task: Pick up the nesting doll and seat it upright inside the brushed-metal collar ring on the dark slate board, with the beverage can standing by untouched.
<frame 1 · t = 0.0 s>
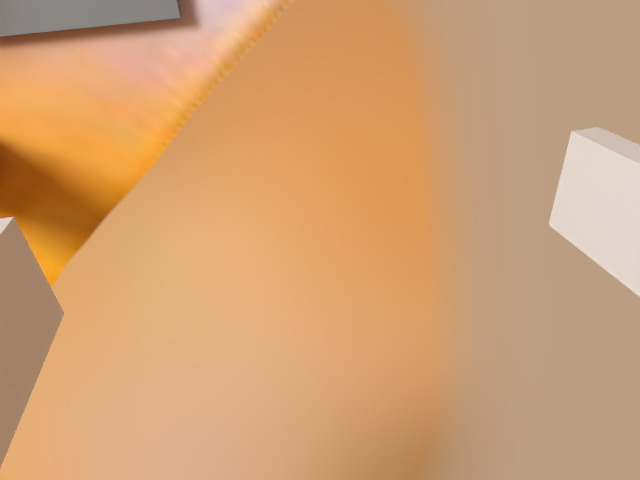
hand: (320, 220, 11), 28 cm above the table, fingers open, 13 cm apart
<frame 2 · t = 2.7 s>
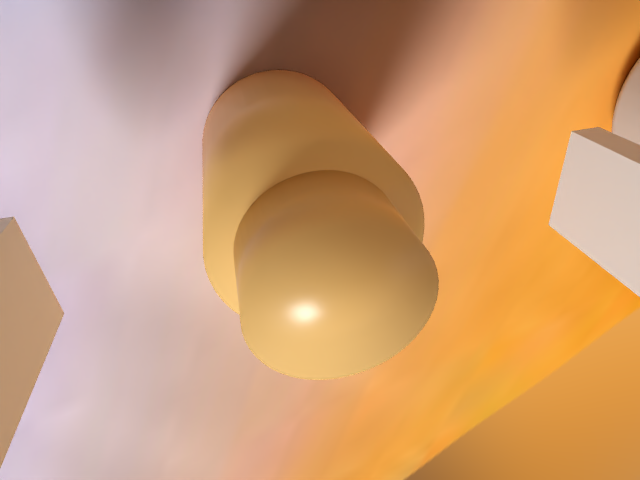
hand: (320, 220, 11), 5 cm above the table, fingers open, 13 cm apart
nesting doll: (278, 147, 14), on the table
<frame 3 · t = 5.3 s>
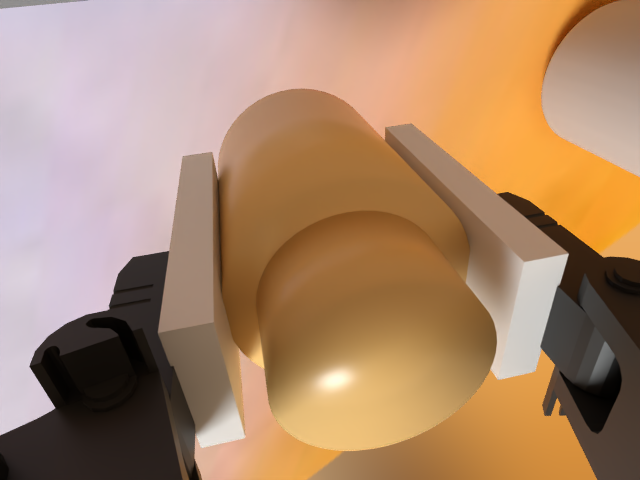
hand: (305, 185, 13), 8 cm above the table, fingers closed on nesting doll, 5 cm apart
beverage can: (591, 71, 22), on the table
nesting doll: (299, 170, 13), point 7 cm above the table, touching gripper
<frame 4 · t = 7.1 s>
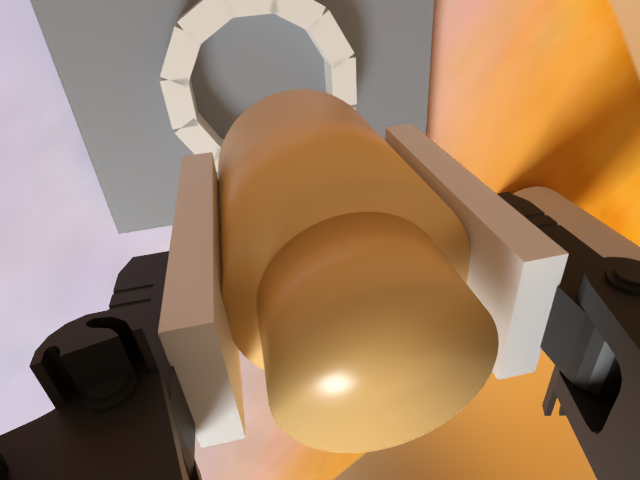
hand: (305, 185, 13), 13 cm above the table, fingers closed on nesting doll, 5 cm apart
collar board: (258, 79, 23), on the table
beverage can: (515, 220, 32), on the table
nesting doll: (299, 171, 13), point 12 cm above the table, touching gripper
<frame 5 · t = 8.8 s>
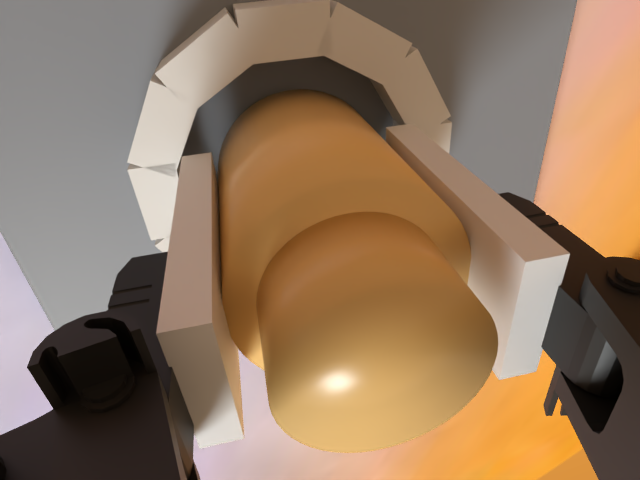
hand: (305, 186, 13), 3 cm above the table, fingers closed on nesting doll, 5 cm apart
collar board: (287, 147, 15), on the table
nesting doll: (299, 171, 13), point 2 cm above the table, touching gripper
when the fingers open (3 cm above the table, at t = 9.4 s): nesting doll stays where it is, resting on collar board.
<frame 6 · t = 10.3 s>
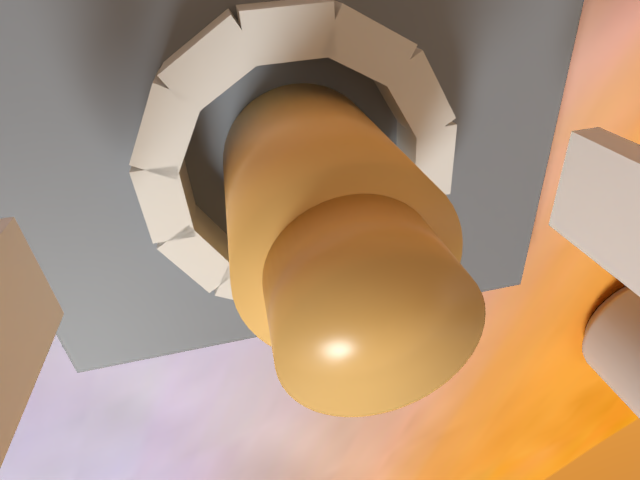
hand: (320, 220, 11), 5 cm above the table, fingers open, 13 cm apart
collar board: (290, 149, 15), on the table
beverage can: (625, 313, 24), on the table
nesting doll: (301, 162, 14), point 1 cm above the table, touching collar board
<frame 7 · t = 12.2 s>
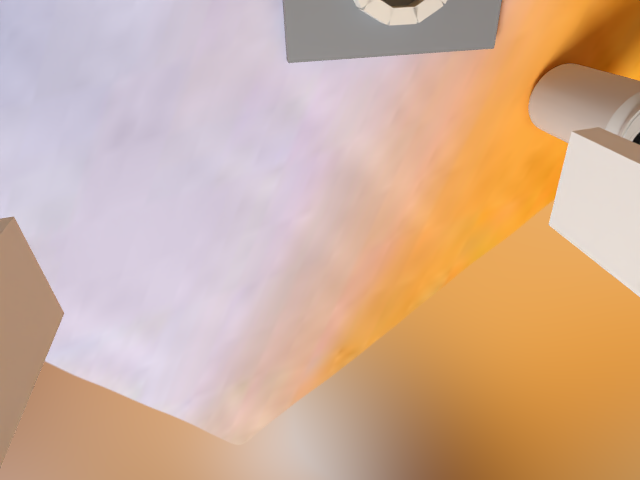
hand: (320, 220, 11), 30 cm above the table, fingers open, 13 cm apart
beverage can: (553, 95, 44), on the table
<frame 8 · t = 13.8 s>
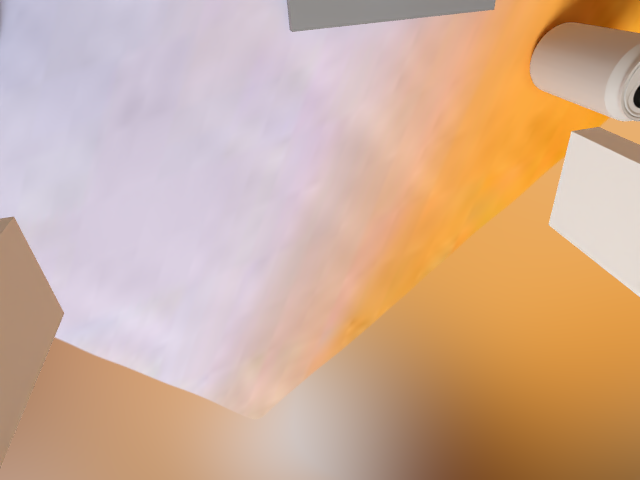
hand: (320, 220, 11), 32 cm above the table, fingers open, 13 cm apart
beverage can: (554, 56, 44), on the table
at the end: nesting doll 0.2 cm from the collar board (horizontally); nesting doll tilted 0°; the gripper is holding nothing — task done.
